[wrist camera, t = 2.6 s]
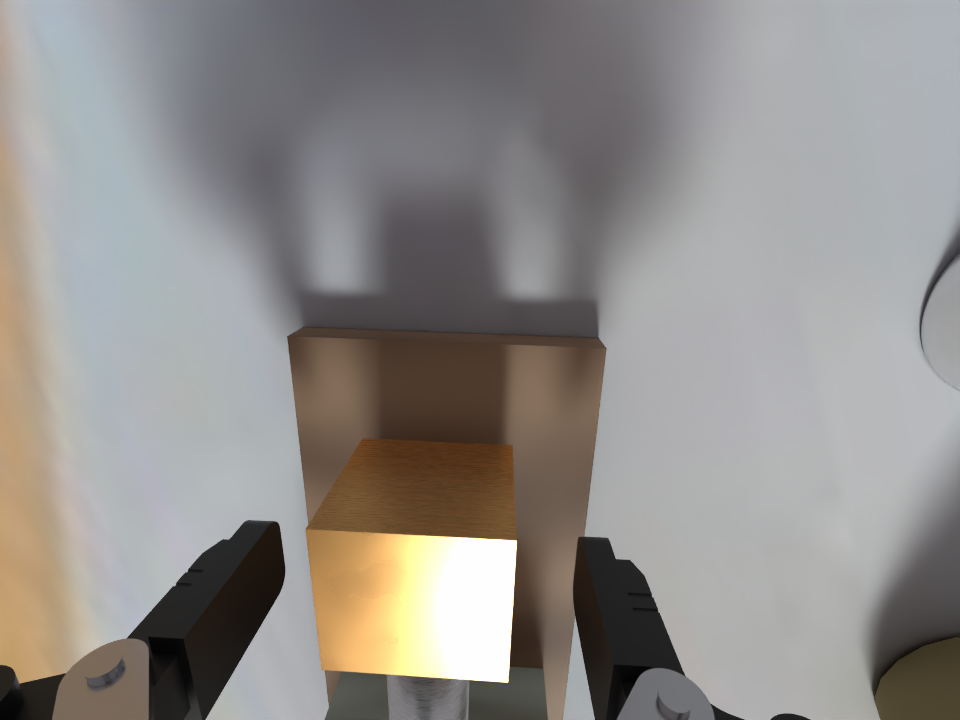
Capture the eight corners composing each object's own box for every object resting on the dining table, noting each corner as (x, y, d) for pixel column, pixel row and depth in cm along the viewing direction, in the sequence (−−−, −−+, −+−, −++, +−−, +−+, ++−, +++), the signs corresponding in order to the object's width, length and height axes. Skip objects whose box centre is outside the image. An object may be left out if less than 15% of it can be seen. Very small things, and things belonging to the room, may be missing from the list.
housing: (303, 327, 15) (108, 438, 8) (598, 338, 15) (696, 466, 7) (346, 759, 22) (265, 1044, 15) (550, 775, 22) (574, 1074, 14)
